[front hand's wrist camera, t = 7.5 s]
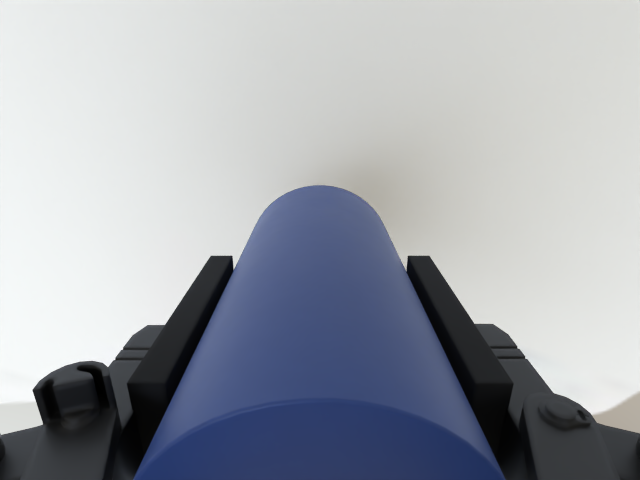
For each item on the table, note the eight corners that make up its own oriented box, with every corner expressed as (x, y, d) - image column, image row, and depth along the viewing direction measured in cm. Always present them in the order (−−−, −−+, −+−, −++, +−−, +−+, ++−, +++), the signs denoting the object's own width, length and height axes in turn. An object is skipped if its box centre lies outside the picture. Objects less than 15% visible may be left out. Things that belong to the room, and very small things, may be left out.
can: (228, 212, 17) (33, 469, 5) (365, 164, 16) (476, 344, 5) (280, 328, 19) (220, 694, 8) (404, 290, 18) (549, 630, 7)
